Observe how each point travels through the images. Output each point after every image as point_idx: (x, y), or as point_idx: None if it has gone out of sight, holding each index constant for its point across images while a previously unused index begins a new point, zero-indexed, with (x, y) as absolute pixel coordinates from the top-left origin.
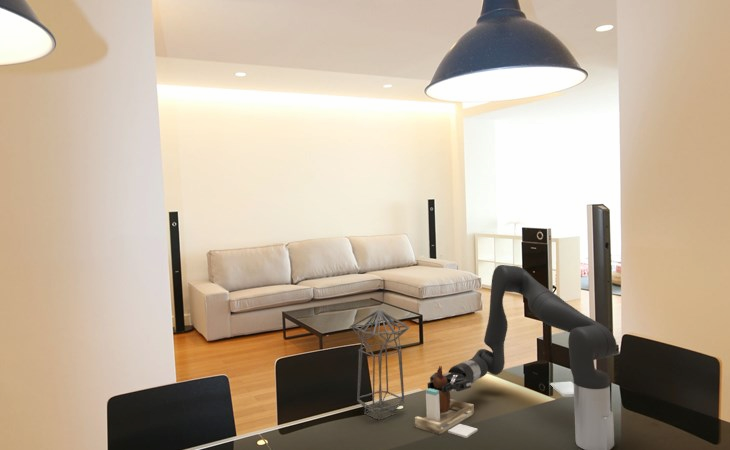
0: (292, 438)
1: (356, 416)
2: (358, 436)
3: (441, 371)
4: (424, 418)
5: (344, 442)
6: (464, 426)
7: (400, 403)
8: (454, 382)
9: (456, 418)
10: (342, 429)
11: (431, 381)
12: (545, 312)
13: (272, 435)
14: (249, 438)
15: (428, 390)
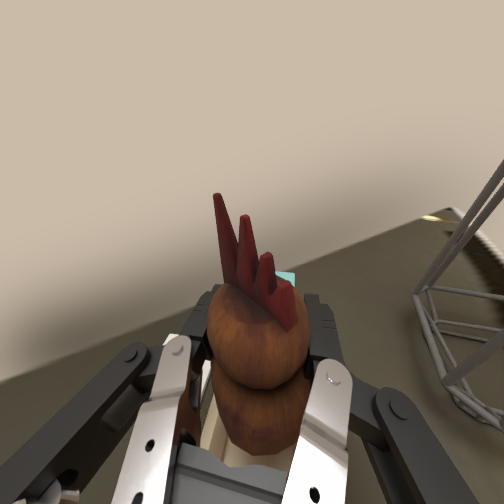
0: (419, 230)
1: (492, 322)
2: (361, 261)
3: (222, 234)
4: None
5: (356, 245)
6: None
7: (437, 363)
8: (157, 380)
9: (209, 443)
10: (412, 266)
11: (319, 320)
12: None
13: (448, 226)
14: (451, 216)
15: (281, 273)
